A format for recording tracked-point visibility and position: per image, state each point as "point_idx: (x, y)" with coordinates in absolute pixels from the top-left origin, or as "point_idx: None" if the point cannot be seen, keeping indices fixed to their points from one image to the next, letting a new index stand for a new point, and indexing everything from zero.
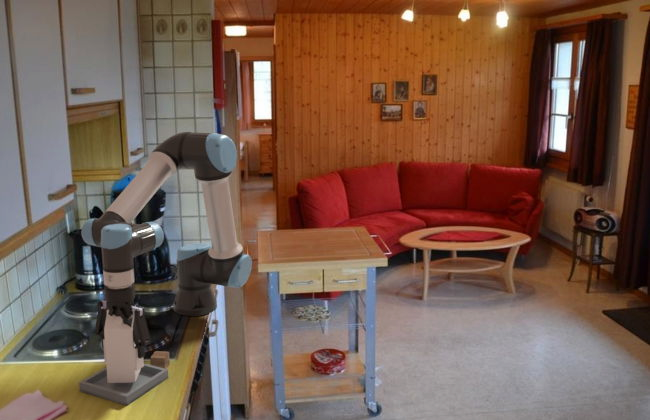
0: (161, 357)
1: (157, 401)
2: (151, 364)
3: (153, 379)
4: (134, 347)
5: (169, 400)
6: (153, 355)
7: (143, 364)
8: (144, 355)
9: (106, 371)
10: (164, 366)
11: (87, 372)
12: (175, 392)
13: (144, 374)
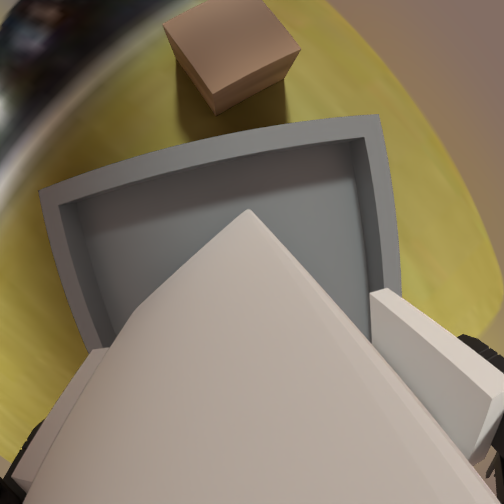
0: (277, 53)
1: (449, 292)
2: (217, 105)
3: (396, 240)
4: (489, 474)
5: (473, 259)
6: (205, 64)
7: (394, 295)
8: (471, 340)
9: (101, 327)
10: (287, 71)
11: (27, 329)
12: (460, 204)
13: (248, 184)
